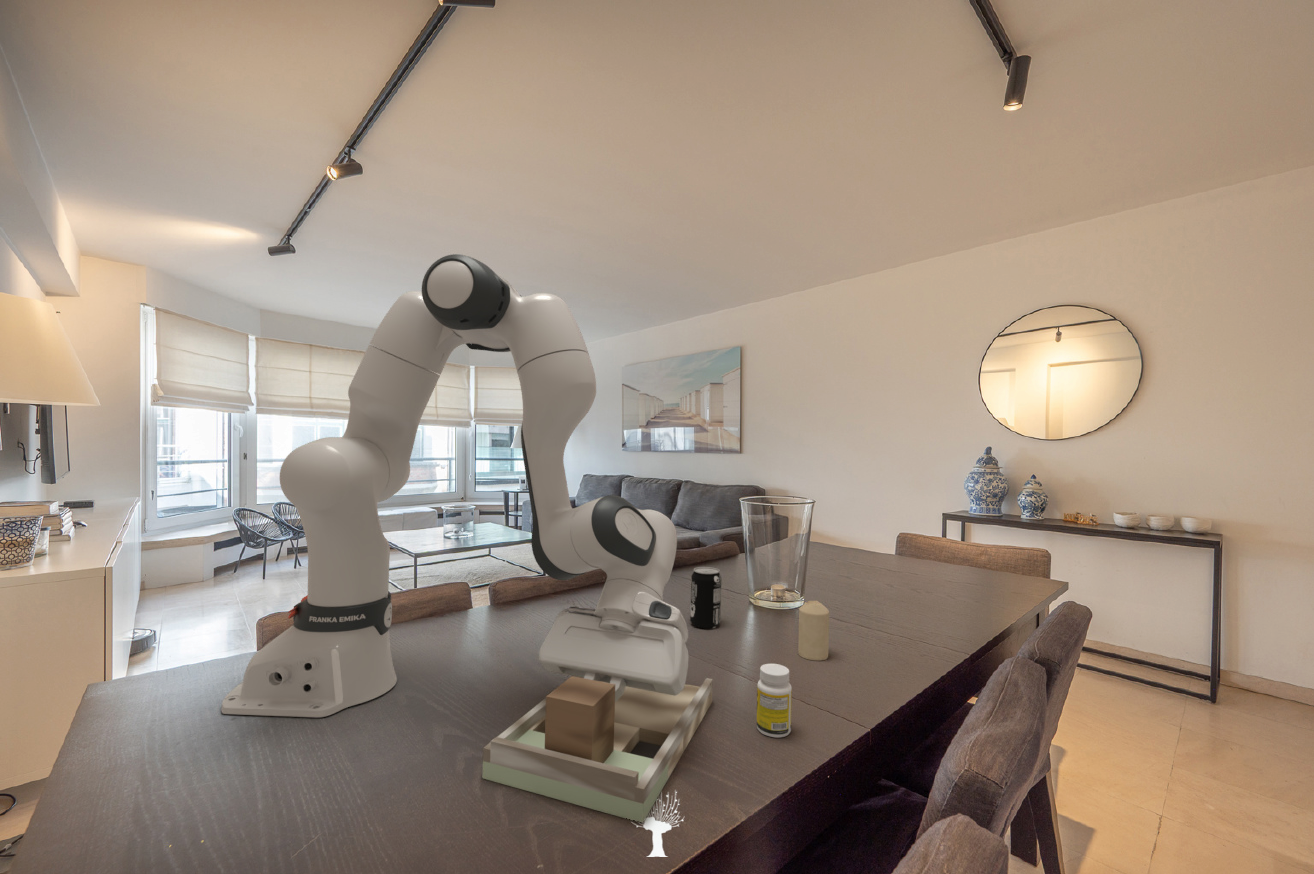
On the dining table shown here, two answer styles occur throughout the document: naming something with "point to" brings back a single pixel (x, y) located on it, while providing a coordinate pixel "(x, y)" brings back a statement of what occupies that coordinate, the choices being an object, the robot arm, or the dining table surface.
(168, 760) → the dining table surface
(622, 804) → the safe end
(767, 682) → the supplement bottle
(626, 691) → the box
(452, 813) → the dining table surface
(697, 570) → the beverage can
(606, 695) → the walnut block
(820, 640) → the candle
